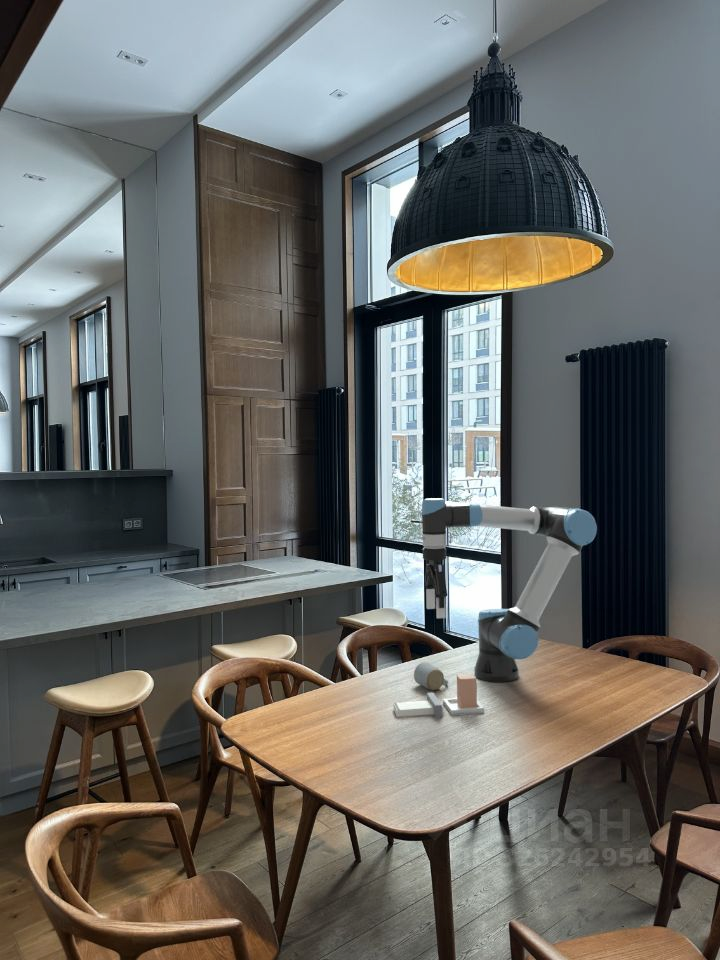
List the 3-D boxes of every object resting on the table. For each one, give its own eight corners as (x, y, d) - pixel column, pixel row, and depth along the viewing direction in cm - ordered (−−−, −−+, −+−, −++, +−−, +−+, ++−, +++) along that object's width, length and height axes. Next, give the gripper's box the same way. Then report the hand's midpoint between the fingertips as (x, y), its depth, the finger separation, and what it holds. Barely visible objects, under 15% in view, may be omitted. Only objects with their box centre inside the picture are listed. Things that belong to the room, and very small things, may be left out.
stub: (473, 703, 211) (472, 674, 211) (477, 707, 207) (476, 678, 207) (457, 704, 210) (456, 675, 210) (460, 708, 206) (460, 679, 206)
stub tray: (474, 701, 214) (474, 696, 214) (484, 712, 204) (484, 707, 204) (443, 703, 213) (443, 698, 213) (451, 715, 203) (451, 710, 203)
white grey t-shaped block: (436, 703, 213) (436, 692, 213) (445, 716, 202) (445, 704, 202) (392, 706, 211) (391, 695, 211) (398, 720, 200) (398, 708, 200)
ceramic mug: (427, 693, 222) (427, 669, 222) (413, 686, 230) (413, 663, 229) (453, 687, 228) (453, 664, 228) (439, 681, 235) (438, 658, 235)
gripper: (414, 542, 230) (416, 605, 231) (432, 552, 205) (433, 622, 206) (436, 541, 231) (437, 604, 232) (456, 551, 206) (457, 621, 207)
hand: (435, 613), depth 219 cm, fingers open, 13 cm apart
